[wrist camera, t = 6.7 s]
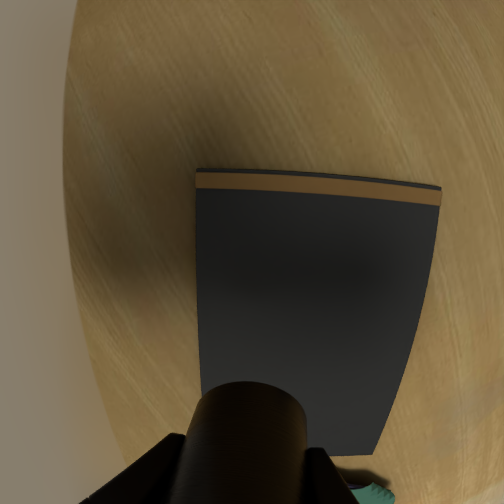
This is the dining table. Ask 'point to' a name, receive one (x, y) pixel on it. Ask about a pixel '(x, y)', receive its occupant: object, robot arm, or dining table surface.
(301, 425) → the battery
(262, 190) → the desk mat
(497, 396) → the dining table surface
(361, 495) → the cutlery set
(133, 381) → the dining table surface
